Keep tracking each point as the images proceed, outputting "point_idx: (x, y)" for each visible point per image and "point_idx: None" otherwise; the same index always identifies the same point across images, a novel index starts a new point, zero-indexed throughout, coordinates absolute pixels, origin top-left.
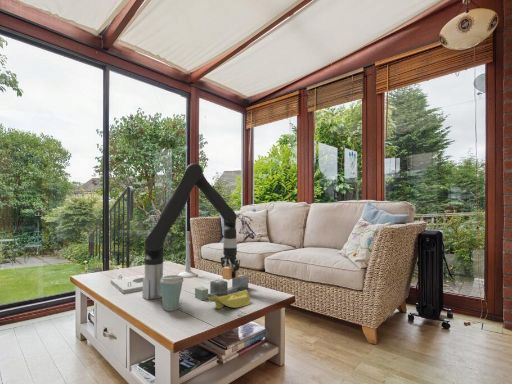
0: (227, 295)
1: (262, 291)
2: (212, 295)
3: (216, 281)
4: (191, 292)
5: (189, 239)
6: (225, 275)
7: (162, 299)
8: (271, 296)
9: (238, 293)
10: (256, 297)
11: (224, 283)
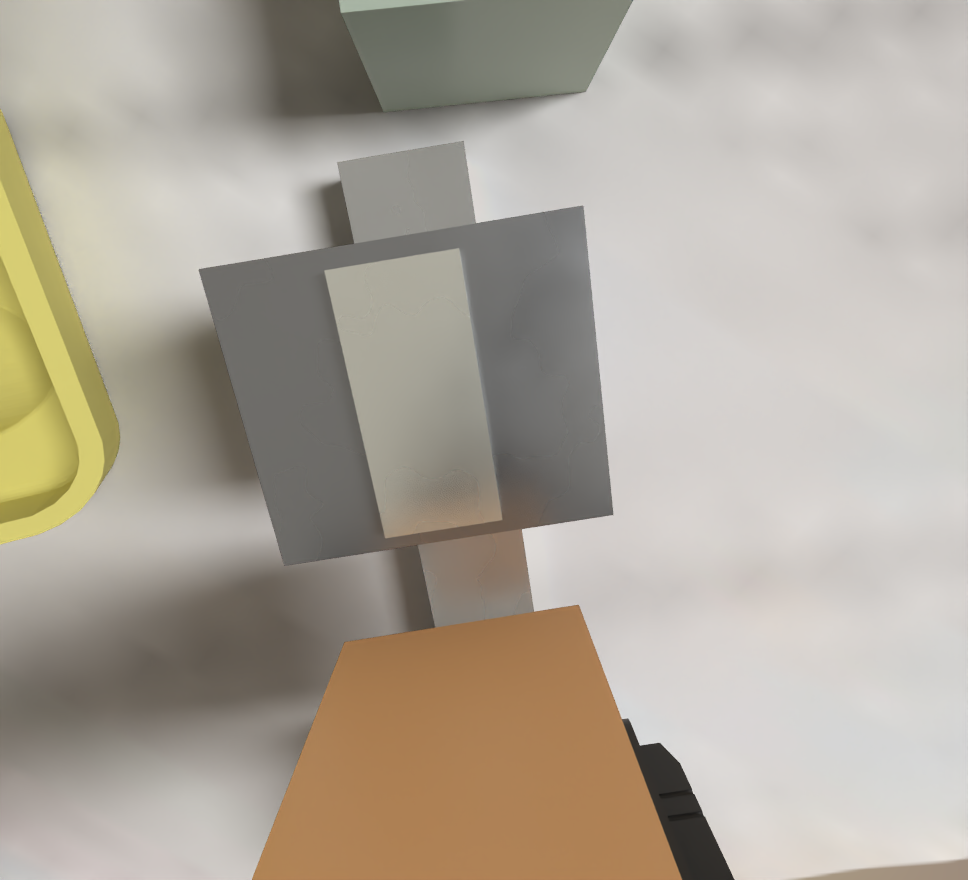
0: (25, 312)
1: (233, 869)
2: (340, 171)
3: (421, 323)
4: (879, 35)
5: None
6: (464, 693)
7: None
8: (3, 843)
9: (10, 515)
10: (52, 701)
11: (266, 461)
